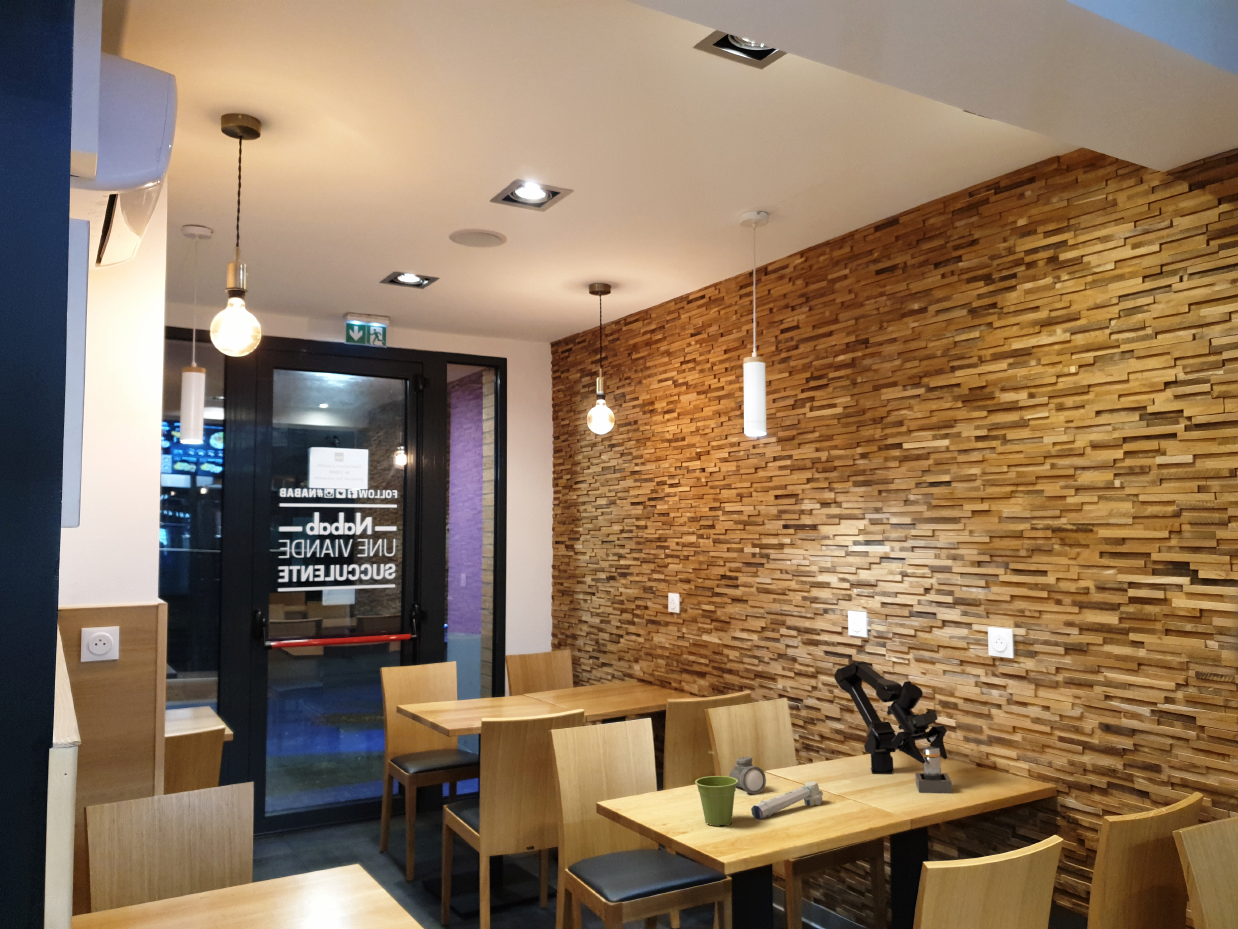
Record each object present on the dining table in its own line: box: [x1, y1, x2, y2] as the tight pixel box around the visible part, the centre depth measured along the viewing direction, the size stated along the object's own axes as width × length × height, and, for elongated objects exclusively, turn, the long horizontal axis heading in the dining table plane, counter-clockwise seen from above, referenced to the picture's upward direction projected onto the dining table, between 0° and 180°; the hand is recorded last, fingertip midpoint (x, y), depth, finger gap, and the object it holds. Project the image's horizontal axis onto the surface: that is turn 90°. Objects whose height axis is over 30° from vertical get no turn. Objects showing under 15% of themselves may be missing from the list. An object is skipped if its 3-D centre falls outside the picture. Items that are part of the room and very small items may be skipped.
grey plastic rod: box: [750, 780, 824, 820], centre depth 262 cm, size 5×7×25 cm
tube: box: [921, 745, 942, 780], centre depth 278 cm, size 5×5×12 cm
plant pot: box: [694, 775, 738, 827], centre depth 253 cm, size 12×12×11 cm
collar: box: [914, 772, 953, 794], centre depth 278 cm, size 9×9×4 cm
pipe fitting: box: [728, 756, 767, 795], centre depth 285 cm, size 12×8×10 cm, turn 21°
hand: (935, 760), depth 277 cm, fingers open, 9 cm apart
